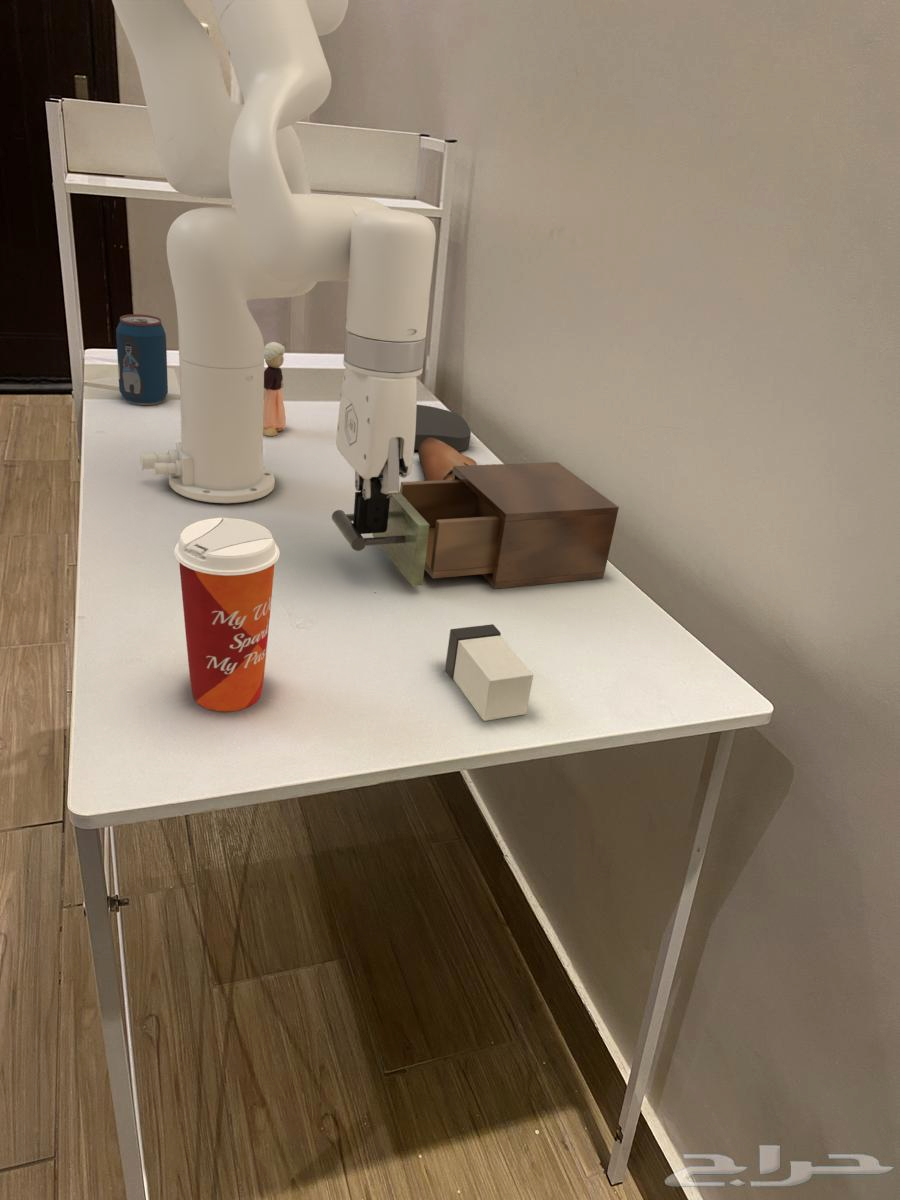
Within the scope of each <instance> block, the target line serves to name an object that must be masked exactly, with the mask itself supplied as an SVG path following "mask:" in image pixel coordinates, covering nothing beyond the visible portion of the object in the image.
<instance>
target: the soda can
mask: <svg viewBox="0 0 900 1200" xmlns="http://www.w3.org/2000/svg"><path fill="white" fill-rule="evenodd" d="M115 335H116V337H115V338H116V354H117V355H116V356H117V372H118V386H119V387H118V389H119V393H120V394H121V397H122V398H123V399H124V401H125V402H127V403H129V404H132V405H137V406H155V405H158V404H162V403H163V402H164V401H165V399H166V397H167V396H168V394H169V386H168V385H169V383H168V354H167V353H168V352H167V351H168V350H167V331H166V329H165V327H164V325H163V324H162V319H161V318H160V317H158V316H154V315H149V314H141V313H140V314H135V313H134V314H132V313H131V314H125V315H124V314H123V315H121V316H120V317H119V322H118V324H117V327H116V329H115Z"/></svg>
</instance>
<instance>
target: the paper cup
mask: <svg viewBox="0 0 900 1200" xmlns="http://www.w3.org/2000/svg"><path fill="white" fill-rule="evenodd" d="M280 553H281V552H280V548H279V546H278V544H276V542H275V539H274V537H273V535H272V533H271V531H270V530H269V529H268V528H267V527H266V526H264V525H261V524H259V523H257V522H255V521H251V520H247V519H242V518H234V517H233V518H232V517H231V518H230V517H214V518H207V519H203V520H198V521H196V522H193V523H191V524H189V525H187V526H186V527H185V528H184V529H182V531H181V533H180V535H179V539H178V541H177V543H176V545H175V547H174V550H173V554H174V557H175V559H176V560H177V561H178V565H179V575H180V584H181V585H180V588H181V596H182V597H181V598H182V606H183V608H182V609H183V619H184V620H183V621H184V630H185V639H186V641H185V642H186V652H187V662H188V672H189V682H190V689H191V694H192V698H193V700H194V701H195V702H196V704H198V705H200V706H201V707H202V708H205V709H207V710H211V711H215V712H236V711H240V710H244V709H247V708H249V707H251V706H253V705H254V704H255V703H257V702H258V701H259V700H260V698H261V696H262V692H263V687H264V679H265V671H266V670H265V669H266V661H267V660H266V659H267V650H268V639H269V629H270V619H271V608H272V597H273V587H274V586H273V585H274V574H275V564H276V562H277V561H278V560H279V558H280Z"/></svg>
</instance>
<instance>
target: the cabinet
mask: <svg viewBox="0 0 900 1200" xmlns="http://www.w3.org/2000/svg"><path fill="white" fill-rule="evenodd" d="M458 479H460V480H461V481H462V482H463V483H464V484H466V485H467V486H468V487H469V488H470V489H471V490H472V491H473V492H474V493H475V494H476V495H477V496H479V497H480V498H481V499H482V500H483V501H484V502H485V503H486V504H487V505H488V506H489V507H490V508H492V509H493V510H494V511H495V512H496V513H497V514H498V515H499V516H500V517H501V518H502V520H501V527H500V533H499V540H498V546H497V552H496V559H495V565H494V572H493V573H488V574H480V575H481V577H483V578H484V579H485V581H487V583H488V584H489V585H490V586H491V587H492V588H493V589H494V590H495V589H496V590H497V589H498V590H499V589H508V588H518V587H527V586H537V585H548V584H558V583H568V582H577V581H579V582H580V581H588V580H590V581H591V580H599V579H604V577H605V572H606V569H607V568H606V567H607V565H608V564H607V563H608V559H609V555H610V554H609V553H610V551H611V546H612V540H613V536H614V532H615V528H616V523H617V519H618V513H619V509H620V507H619V506H618V505H616V504H615V503H614V502H613V501H611V500H610V499H608V497H605V495H603V494H602V493H601V492H599V491H598V490H596V489H595V488H594V487H592V486H591V485H589V484H588V483H586V481H584V480H582V479H581V478H580V477H579V476H577V475H576V474H575V473H573V472H572V471H570V470H569V469H567V468H566V467H565V466H564V465H562V464H560V462H558V461H549V462H525V463H523V462H521V463H498V464H497V463H496V464H477V465H467V466H453V473H452V480H458Z"/></svg>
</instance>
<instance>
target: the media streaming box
mask: <svg viewBox="0 0 900 1200" xmlns="http://www.w3.org/2000/svg"><path fill="white" fill-rule="evenodd" d="M471 434H472V431H471V428H470V426H469V424H468V423H467V421H466V420H465V419H464V418H463V416H461V415H460V414H459V413H456V412H454V411H450V410H446V409H443V408H439V407H435V406H430V405H423V404H417V407H416V431H415V445H414V451H418V450H419V447H420V445H421V444H422V442H423V441H425V440H426V439H427V438H434V439H437V440H440V441H441V442H443V443H445V444H447V445H449V446H450V447H452V448H453V449H455V450H456V451H458V452H459V451H463V450H466V449H468V448H469V447H470V441H471Z"/></svg>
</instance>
